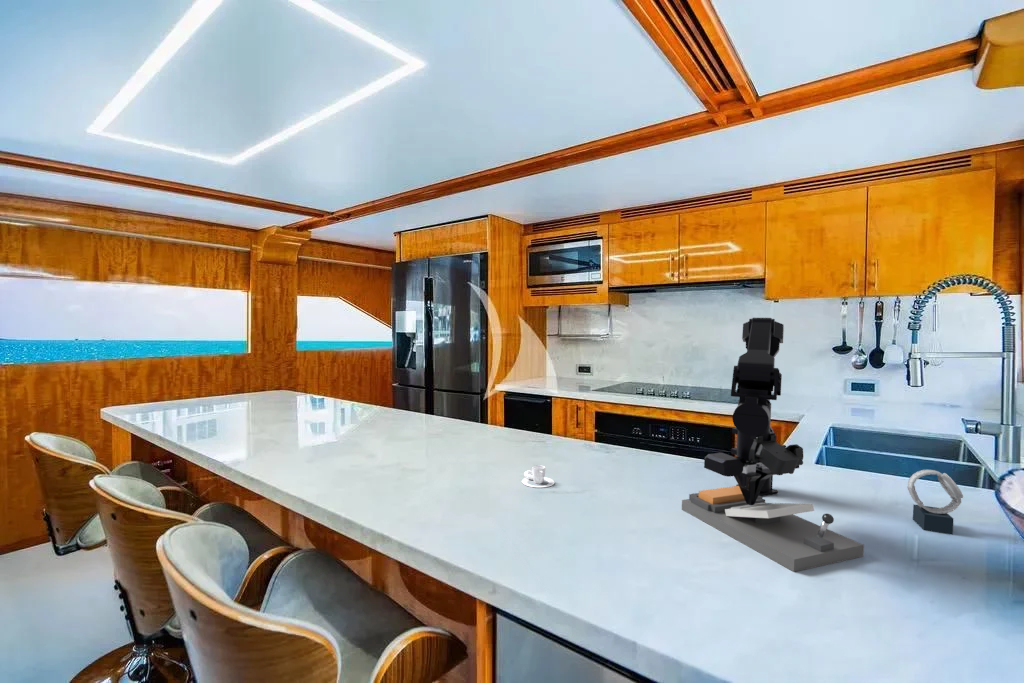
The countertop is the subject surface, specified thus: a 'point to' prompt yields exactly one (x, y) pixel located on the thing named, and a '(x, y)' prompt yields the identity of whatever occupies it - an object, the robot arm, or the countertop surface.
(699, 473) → the countertop surface
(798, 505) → the rocker switch
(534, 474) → the teacup and saucer
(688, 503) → the panel
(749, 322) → the robot arm
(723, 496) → the push button
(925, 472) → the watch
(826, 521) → the toggle lever
